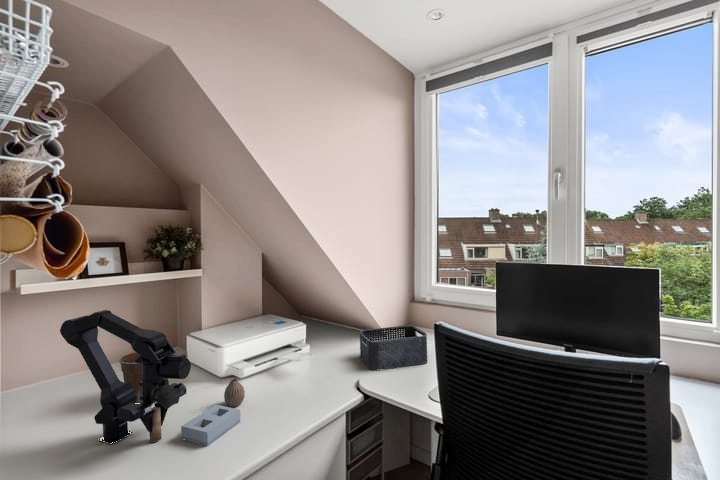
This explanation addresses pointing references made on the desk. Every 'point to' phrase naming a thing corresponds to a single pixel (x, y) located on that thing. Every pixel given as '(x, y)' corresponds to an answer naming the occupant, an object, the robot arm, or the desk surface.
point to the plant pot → (133, 372)
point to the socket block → (210, 425)
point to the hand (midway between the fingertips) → (155, 429)
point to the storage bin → (393, 347)
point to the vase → (234, 393)
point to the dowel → (156, 425)
